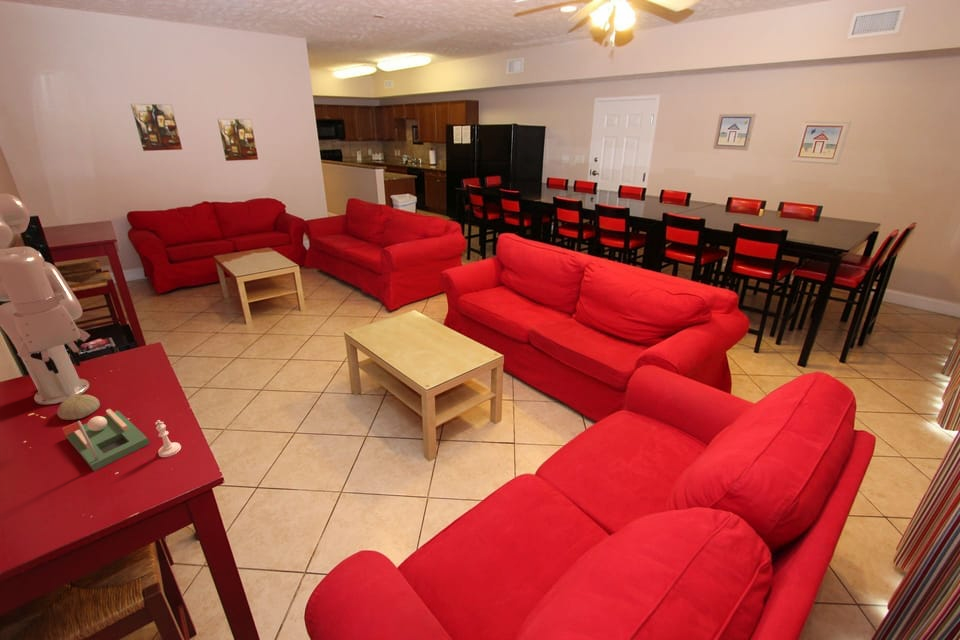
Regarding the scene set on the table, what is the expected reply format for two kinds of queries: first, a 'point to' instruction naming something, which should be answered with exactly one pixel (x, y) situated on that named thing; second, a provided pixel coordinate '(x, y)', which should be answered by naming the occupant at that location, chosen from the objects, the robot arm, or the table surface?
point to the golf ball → (97, 423)
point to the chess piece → (166, 442)
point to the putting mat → (106, 440)
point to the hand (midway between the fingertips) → (66, 367)
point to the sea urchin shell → (78, 407)
